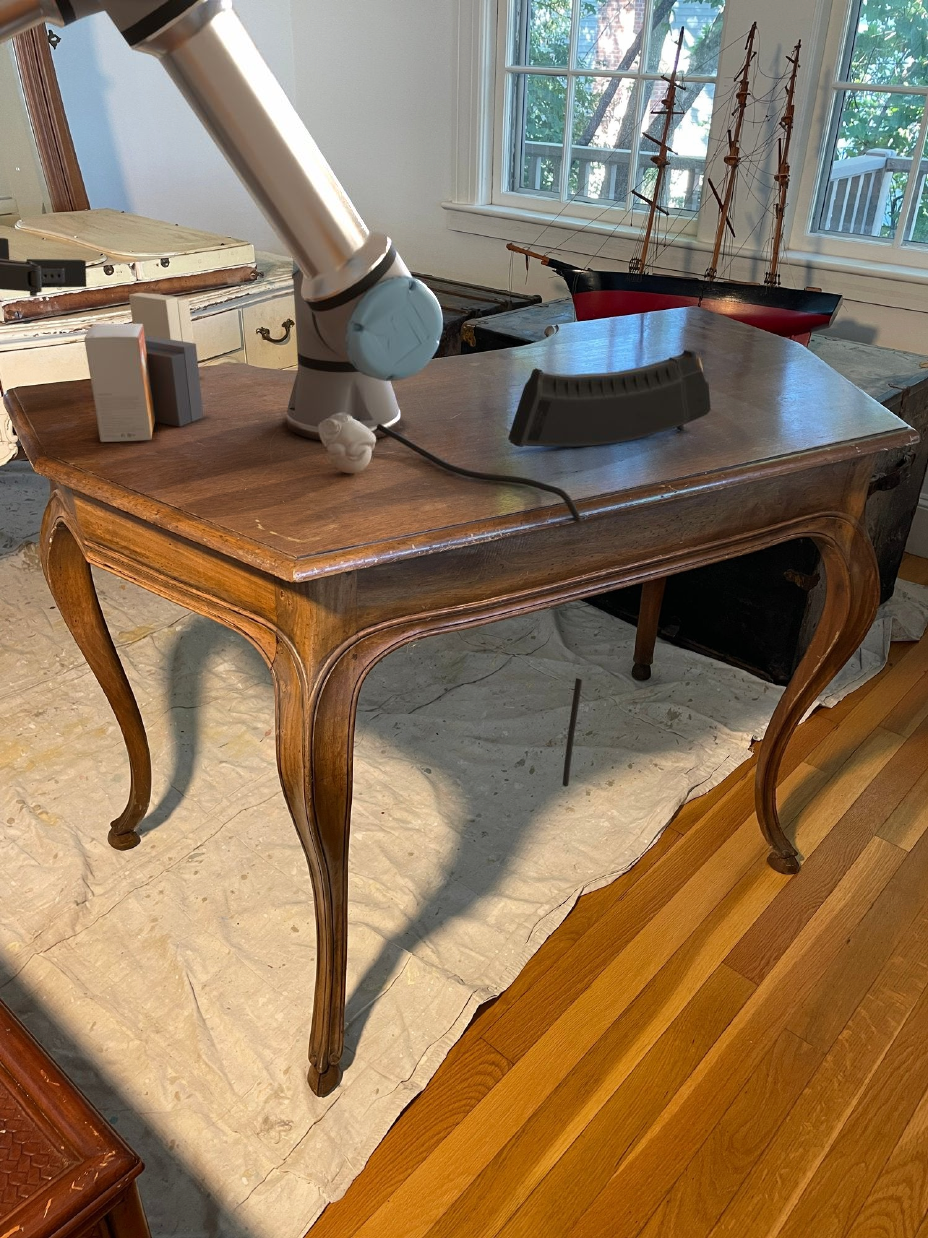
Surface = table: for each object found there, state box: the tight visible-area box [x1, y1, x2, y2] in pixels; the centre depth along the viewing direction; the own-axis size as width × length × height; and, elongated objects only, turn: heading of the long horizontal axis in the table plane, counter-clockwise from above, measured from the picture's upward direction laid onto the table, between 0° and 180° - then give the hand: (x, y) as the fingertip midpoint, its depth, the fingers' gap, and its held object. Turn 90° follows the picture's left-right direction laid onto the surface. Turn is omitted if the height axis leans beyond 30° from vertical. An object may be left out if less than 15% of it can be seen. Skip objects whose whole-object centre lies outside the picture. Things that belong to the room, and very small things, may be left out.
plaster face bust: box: [318, 413, 377, 474], centre depth 108 cm, size 6×7×7 cm
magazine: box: [507, 348, 712, 448], centre depth 121 cm, size 17×3×30 cm
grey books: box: [145, 336, 205, 427], centre depth 123 cm, size 8×5×10 cm, turn 65°
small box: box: [83, 323, 156, 443], centre depth 116 cm, size 8×6×13 cm
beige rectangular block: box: [128, 292, 194, 343], centre depth 139 cm, size 7×5×12 cm
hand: (44, 261), depth 103 cm, fingers open, 13 cm apart
